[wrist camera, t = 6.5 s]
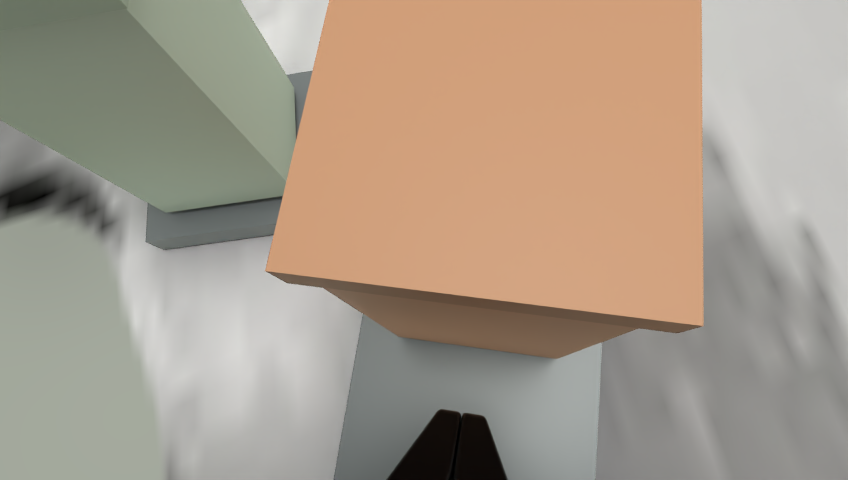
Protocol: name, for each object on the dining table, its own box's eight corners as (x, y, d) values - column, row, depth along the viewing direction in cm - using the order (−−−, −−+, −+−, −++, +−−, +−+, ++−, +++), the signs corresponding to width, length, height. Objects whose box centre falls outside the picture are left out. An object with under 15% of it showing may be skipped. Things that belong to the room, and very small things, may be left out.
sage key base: (335, 226, 17) (327, 216, 16) (163, 249, 18) (145, 241, 17) (327, 85, 19) (319, 69, 18) (170, 110, 19) (154, 96, 18)
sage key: (302, 197, 16) (96, -27, 7) (161, 217, 16) (-195, 26, 8) (298, 83, 17) (117, -221, 9) (167, 104, 18) (-133, -170, 9)
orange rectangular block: (562, 365, 14) (703, 325, 5) (393, 341, 14) (265, 270, 6) (572, 219, 15) (701, -15, 6) (415, 203, 16) (335, -29, 7)
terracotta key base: (584, 529, 14) (592, 539, 13) (340, 484, 15) (331, 490, 14) (600, 221, 16) (608, 211, 15) (390, 200, 17) (385, 189, 16)
